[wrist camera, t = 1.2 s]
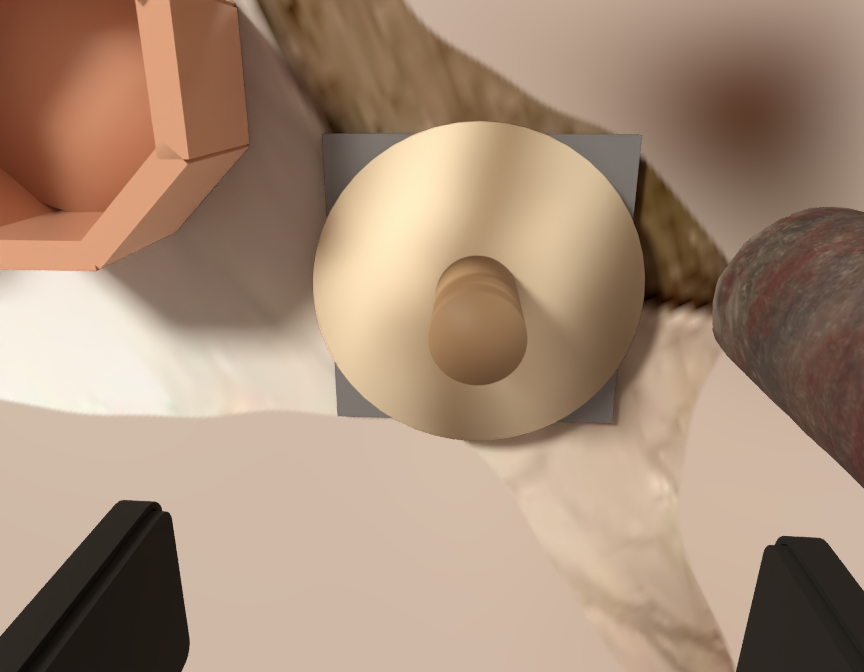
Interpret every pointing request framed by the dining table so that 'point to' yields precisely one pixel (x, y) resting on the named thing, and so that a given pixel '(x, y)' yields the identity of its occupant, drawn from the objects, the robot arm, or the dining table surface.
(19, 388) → the dining table surface
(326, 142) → the mat
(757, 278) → the stone cylinder
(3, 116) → the bowl
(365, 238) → the lid
